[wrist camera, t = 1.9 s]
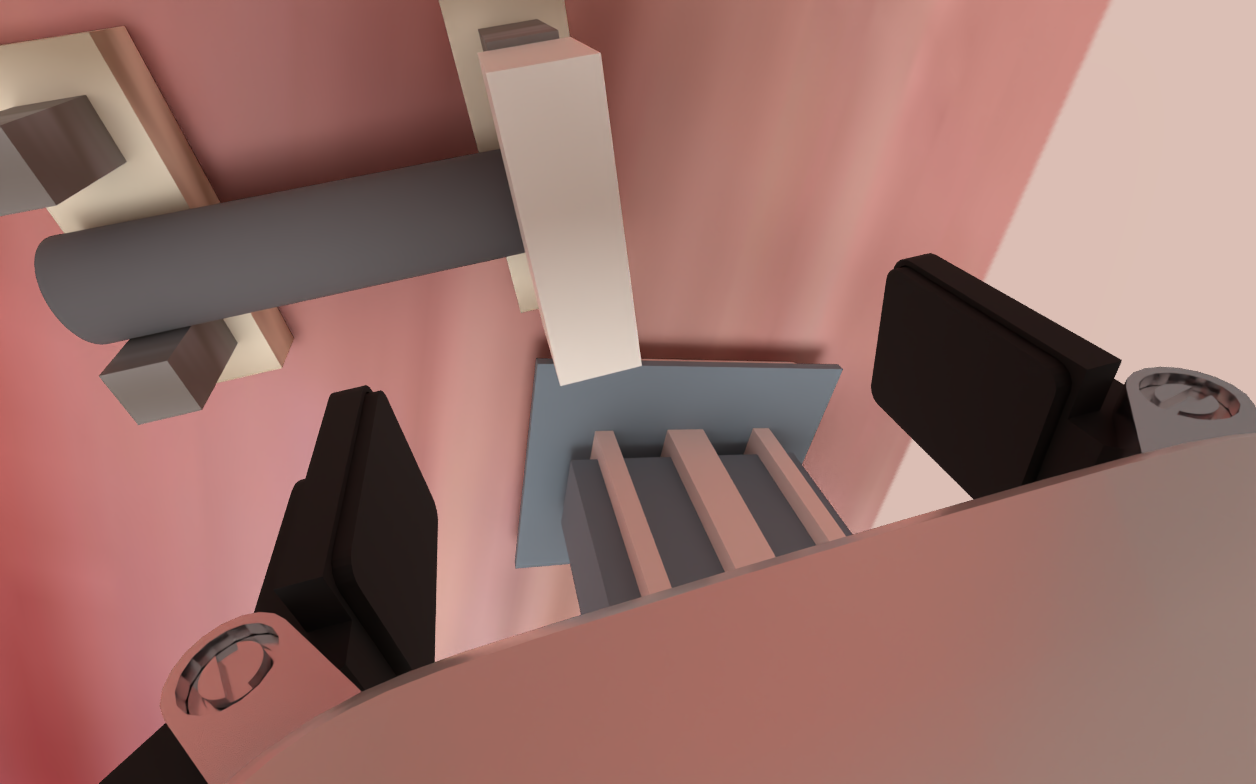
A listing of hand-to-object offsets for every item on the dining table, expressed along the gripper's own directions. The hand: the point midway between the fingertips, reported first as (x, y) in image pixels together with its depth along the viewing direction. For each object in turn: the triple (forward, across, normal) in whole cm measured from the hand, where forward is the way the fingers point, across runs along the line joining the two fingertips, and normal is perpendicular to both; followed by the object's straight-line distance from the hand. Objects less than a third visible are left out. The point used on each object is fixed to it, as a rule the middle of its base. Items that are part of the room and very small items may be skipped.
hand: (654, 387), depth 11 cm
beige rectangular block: (+10, 0, 0) cm, 10 cm away
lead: (+15, +7, 0) cm, 16 cm away
